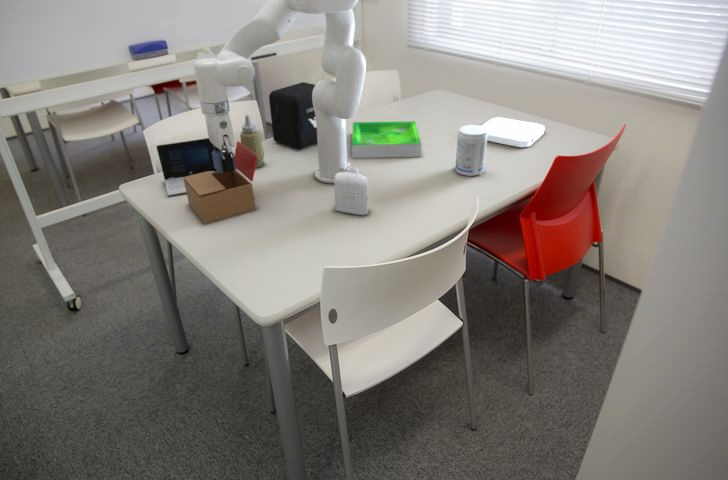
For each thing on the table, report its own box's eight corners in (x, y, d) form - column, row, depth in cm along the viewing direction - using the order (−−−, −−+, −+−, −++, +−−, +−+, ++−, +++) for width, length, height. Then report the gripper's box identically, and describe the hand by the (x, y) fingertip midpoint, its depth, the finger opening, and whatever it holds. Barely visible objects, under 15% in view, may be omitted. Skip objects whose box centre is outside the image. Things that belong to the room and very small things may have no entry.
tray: (420, 156, 186) (421, 143, 184) (352, 157, 187) (351, 144, 184) (414, 133, 207) (415, 121, 204) (353, 134, 208) (353, 122, 205)
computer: (493, 122, 216) (494, 116, 214) (545, 132, 205) (547, 125, 203) (471, 138, 201) (472, 131, 200) (526, 149, 190) (527, 142, 189)
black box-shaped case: (298, 152, 193) (294, 99, 182) (273, 143, 201) (267, 92, 190) (335, 137, 205) (333, 86, 194) (309, 130, 213) (306, 80, 202)
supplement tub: (473, 163, 180) (478, 123, 172) (488, 174, 172) (494, 131, 164) (449, 168, 177) (453, 126, 169) (463, 178, 170) (468, 136, 162)
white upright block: (370, 210, 153) (370, 172, 146) (365, 217, 149) (365, 178, 142) (338, 205, 156) (337, 167, 149) (333, 211, 153) (331, 173, 146)
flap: (232, 165, 160) (233, 165, 160) (251, 181, 150) (252, 181, 150) (237, 140, 157) (238, 141, 158) (256, 155, 147) (257, 156, 147)
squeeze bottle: (260, 170, 180) (254, 119, 169) (239, 168, 181) (231, 118, 171) (268, 161, 186) (262, 112, 176) (247, 160, 188) (240, 111, 177)
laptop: (167, 197, 163) (158, 158, 156) (165, 182, 173) (155, 145, 166) (224, 187, 168) (217, 149, 161) (218, 173, 178) (211, 137, 171)
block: (230, 164, 154) (227, 148, 151) (236, 169, 151) (233, 153, 148) (214, 167, 152) (211, 151, 149) (220, 173, 149) (217, 157, 146)
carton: (237, 191, 166) (233, 164, 160) (255, 209, 155) (251, 181, 150) (189, 204, 159) (182, 177, 153) (205, 224, 148) (198, 195, 143)
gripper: (239, 111, 137) (248, 174, 147) (217, 97, 149) (227, 156, 159) (212, 116, 134) (223, 180, 144) (192, 101, 146) (203, 161, 156)
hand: (225, 167), depth 151 cm, fingers closed on block, 5 cm apart
